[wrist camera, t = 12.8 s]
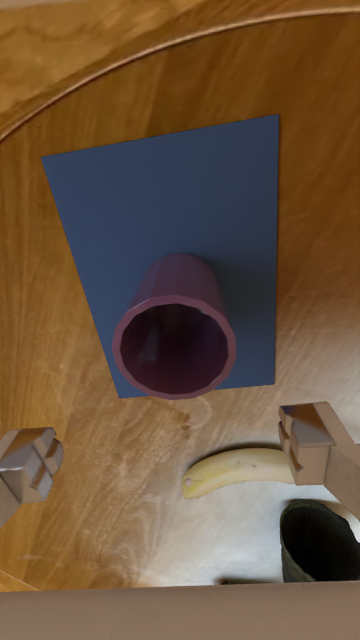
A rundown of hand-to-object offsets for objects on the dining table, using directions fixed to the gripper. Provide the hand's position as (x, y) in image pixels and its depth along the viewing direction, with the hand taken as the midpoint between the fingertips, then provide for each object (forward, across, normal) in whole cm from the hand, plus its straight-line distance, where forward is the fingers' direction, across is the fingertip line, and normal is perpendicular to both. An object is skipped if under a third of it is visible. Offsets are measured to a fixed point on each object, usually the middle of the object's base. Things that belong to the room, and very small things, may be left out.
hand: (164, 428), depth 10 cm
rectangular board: (+15, 0, 0) cm, 15 cm away
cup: (+14, 0, +1) cm, 14 cm away
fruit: (+15, -4, +24) cm, 29 cm away
